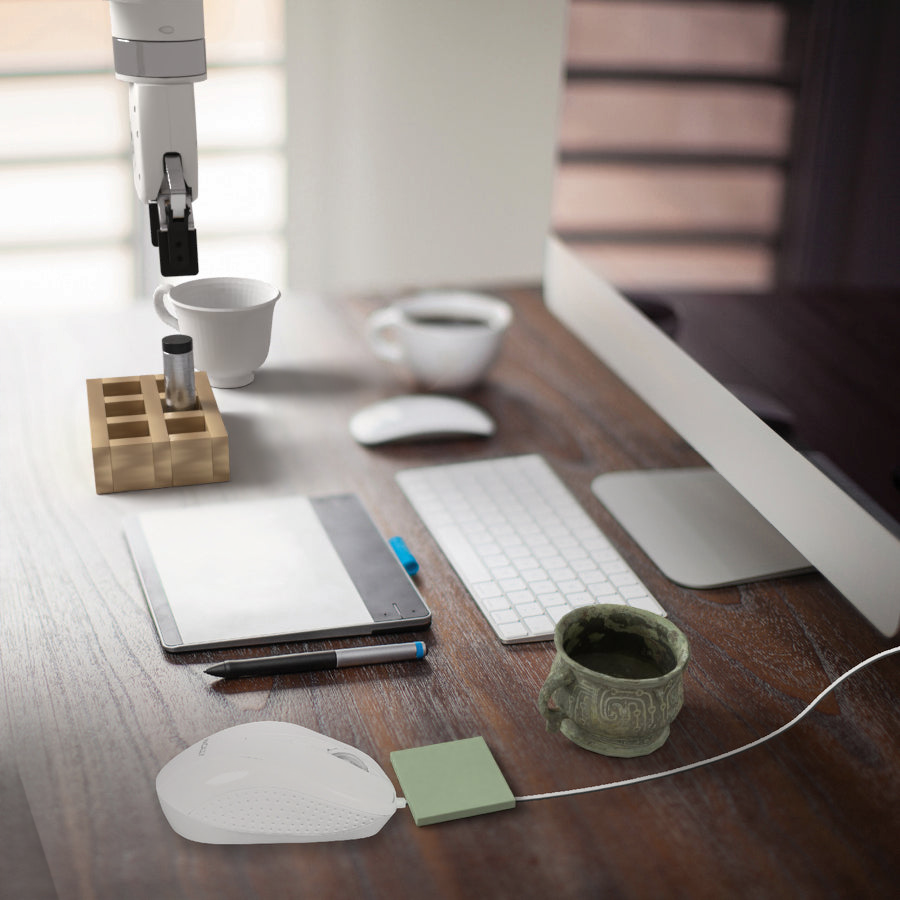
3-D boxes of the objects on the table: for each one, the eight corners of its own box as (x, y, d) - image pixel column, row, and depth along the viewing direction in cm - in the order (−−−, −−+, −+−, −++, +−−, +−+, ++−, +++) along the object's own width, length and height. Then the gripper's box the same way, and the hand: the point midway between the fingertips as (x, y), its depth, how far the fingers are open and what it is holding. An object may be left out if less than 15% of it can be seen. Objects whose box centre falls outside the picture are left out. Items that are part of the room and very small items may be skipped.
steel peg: (170, 454, 108) (162, 345, 104) (167, 442, 111) (160, 335, 106) (200, 451, 109) (194, 343, 105) (196, 440, 112) (190, 333, 107)
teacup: (188, 350, 135) (183, 268, 130) (301, 370, 130) (300, 285, 126) (128, 383, 124) (120, 295, 120) (248, 406, 120) (245, 315, 116)
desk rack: (96, 494, 100) (91, 447, 98) (90, 420, 115) (86, 378, 113) (230, 481, 104) (228, 436, 102) (207, 411, 118) (205, 370, 116)
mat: (417, 827, 65) (417, 819, 65) (389, 759, 70) (389, 751, 70) (515, 807, 67) (516, 799, 66) (481, 743, 72) (482, 735, 72)
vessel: (642, 661, 81) (652, 585, 78) (727, 733, 74) (741, 652, 71) (498, 707, 75) (504, 627, 73) (575, 790, 68) (584, 704, 66)
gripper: (109, 48, 102) (125, 237, 109) (120, 74, 87) (138, 291, 94) (194, 48, 104) (205, 233, 111) (219, 74, 89) (229, 285, 96)
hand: (174, 259), depth 103 cm, fingers open, 9 cm apart
